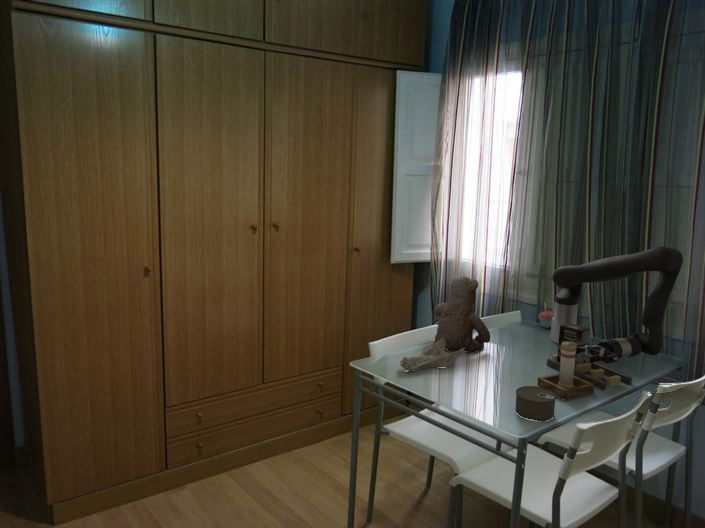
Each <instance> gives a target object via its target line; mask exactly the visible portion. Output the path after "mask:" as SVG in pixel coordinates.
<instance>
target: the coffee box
mask: <svg viewBox="0 0 705 528" xmlns="http://www.w3.org/2000/svg"><path fill="white" fill-rule="evenodd" d="M590 329H591V328H590V327H588V326H587V327H586V326H582V325H578V324H576V325H575V324H571V323H566V324H562V325H560V332H559V343H557V345H558V346H557V353H556V354H557V362H559V363H560V362H561V350H562V349H561V346H562V342H564V341H570V342H574V343H576V344H583V343H589V337H590ZM582 352H584V351H582ZM587 357H588V356H587V355H585V354H576V357H575V367H574V369H576V365H579V364H584V363H586V359H587Z"/></svg>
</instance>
